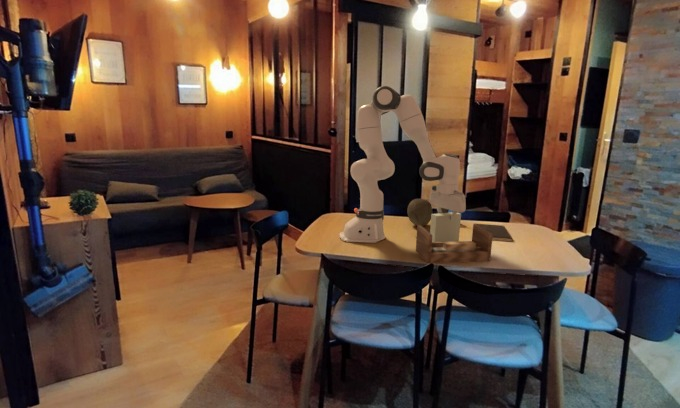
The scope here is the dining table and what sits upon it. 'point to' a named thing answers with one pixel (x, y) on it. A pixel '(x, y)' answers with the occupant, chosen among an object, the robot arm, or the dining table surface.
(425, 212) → the cantaloupe
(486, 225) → the hardcover book
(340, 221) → the dining table surface
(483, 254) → the walnut rack
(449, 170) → the robot arm
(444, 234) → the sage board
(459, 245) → the offcut stack
